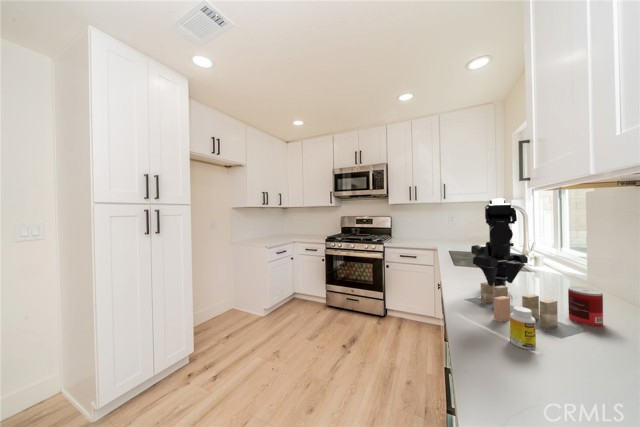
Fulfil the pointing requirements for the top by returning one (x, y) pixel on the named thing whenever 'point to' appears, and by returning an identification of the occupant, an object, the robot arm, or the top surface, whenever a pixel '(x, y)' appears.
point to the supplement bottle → (522, 328)
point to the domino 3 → (502, 308)
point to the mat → (537, 322)
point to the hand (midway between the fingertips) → (500, 284)
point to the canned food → (585, 306)
